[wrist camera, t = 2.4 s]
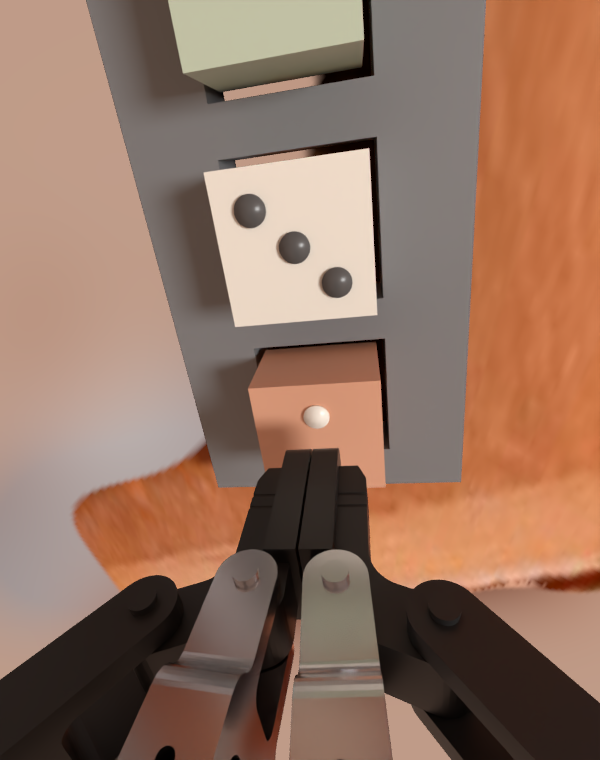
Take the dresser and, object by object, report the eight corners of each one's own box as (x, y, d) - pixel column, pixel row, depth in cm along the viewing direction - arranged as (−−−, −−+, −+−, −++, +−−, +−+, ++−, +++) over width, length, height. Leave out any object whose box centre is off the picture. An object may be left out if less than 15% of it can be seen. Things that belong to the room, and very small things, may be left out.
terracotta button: (265, 350, 16) (247, 390, 13) (376, 341, 15) (380, 382, 12) (281, 439, 17) (268, 491, 15) (380, 435, 17) (385, 489, 14)
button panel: (80, -150, 11) (29, -207, 10) (477, -263, 10) (504, -357, 8) (230, 458, 20) (218, 487, 18) (450, 451, 19) (461, 481, 17)
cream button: (233, 169, 13) (202, 172, 10) (365, 150, 12) (369, 148, 10) (256, 297, 15) (234, 328, 12) (373, 285, 14) (377, 316, 11)
